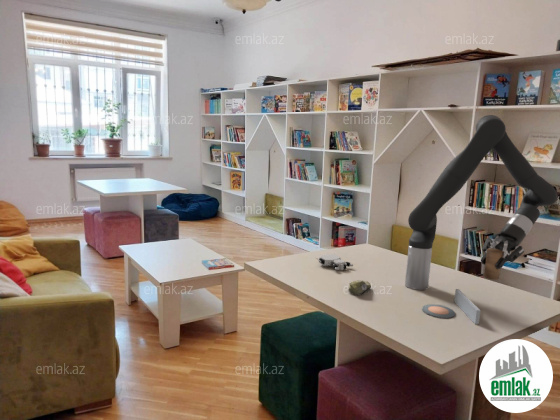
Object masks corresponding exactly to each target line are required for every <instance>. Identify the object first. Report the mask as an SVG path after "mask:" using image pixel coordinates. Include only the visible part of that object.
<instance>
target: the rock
mask: <svg viewBox="0 0 560 420" xmlns="http://www.w3.org/2000/svg"><path fill="white" fill-rule="evenodd" d="M370 289H372V285H371V283H370V282H369V281H368V280H362V279H361V280H360V279H356V280H353V281H351V282H349V287H348V292H349V293H350V294H352V295H356V296H360V295H362V294H364V293H365V292H366V291H368V290H370Z"/></svg>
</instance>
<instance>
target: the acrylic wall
mask: <svg viewBox="0 0 560 420" xmlns="http://www.w3.org/2000/svg"><path fill="white" fill-rule="evenodd" d="M454 294H455V295H454V300H453V301H454V302H455V305H457V306H458V307H459V308H460V309H461V311H463V312H464V314H465V315H466V316H467V317H468V318H469V320H471V321H472V322H473V324H474V325H480V317H481V309H480V308H479V307H478V306H477V305H476V304H474V303H473V301H472V300H470V299H469V297H468V296H467V295H466V294H465V293H463V291H462V290H461V289H459V288H455V292H454Z"/></svg>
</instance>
